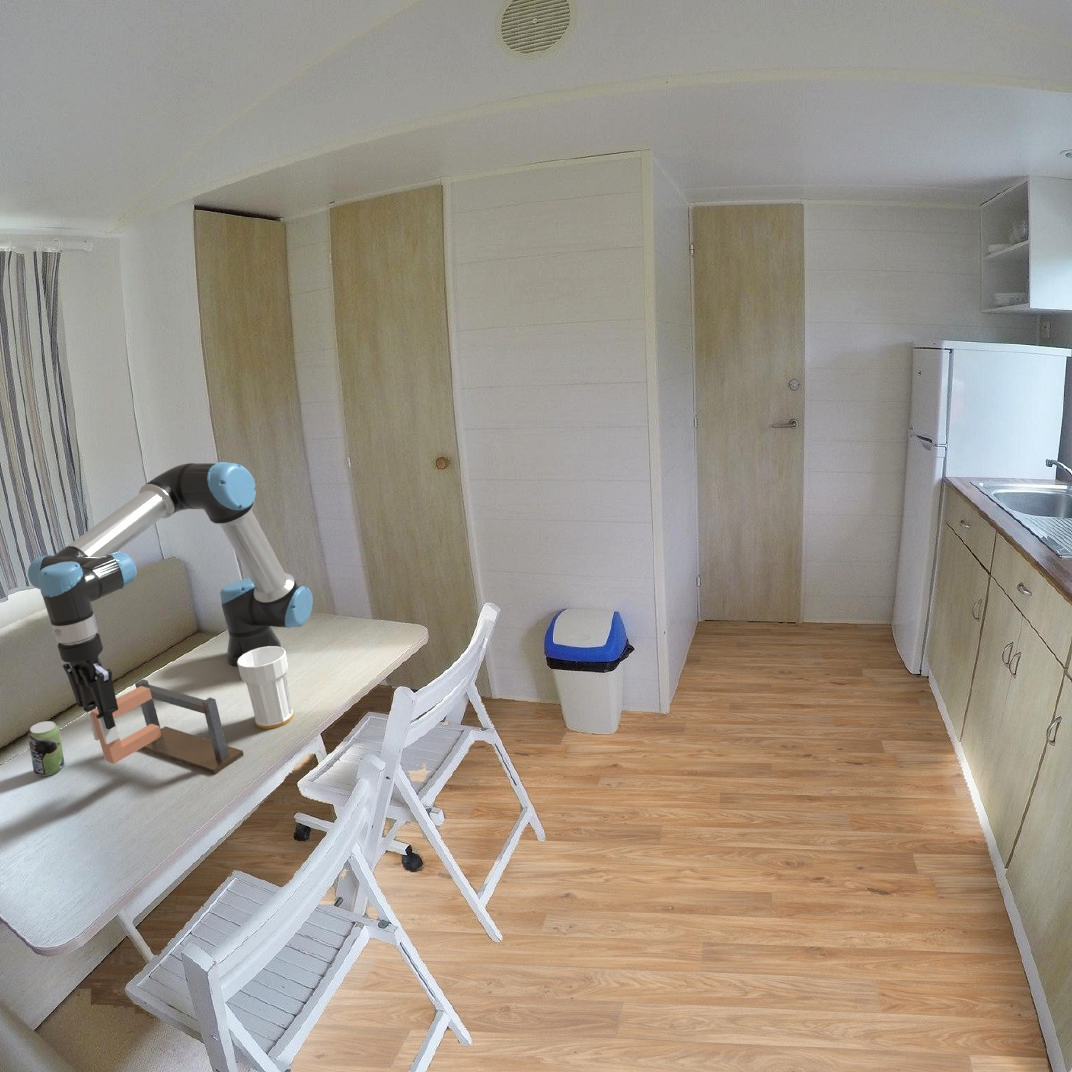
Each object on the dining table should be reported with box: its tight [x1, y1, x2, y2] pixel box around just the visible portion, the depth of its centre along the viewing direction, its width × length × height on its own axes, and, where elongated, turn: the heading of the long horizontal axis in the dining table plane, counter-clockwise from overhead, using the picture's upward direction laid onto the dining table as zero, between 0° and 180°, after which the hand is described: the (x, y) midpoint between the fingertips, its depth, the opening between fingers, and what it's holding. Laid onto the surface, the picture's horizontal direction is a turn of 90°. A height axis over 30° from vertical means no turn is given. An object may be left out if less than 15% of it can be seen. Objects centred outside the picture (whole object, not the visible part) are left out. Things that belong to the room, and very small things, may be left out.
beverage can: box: [27, 720, 65, 777], centre depth 176 cm, size 6×7×12 cm
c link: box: [91, 686, 162, 764], centre depth 167 cm, size 3×12×12 cm, turn 151°
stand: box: [134, 678, 244, 775], centre depth 178 cm, size 28×8×16 cm, turn 61°
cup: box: [237, 646, 294, 730], centre depth 189 cm, size 11×11×17 cm
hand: (107, 738), depth 163 cm, fingers closed on c link, 3 cm apart
